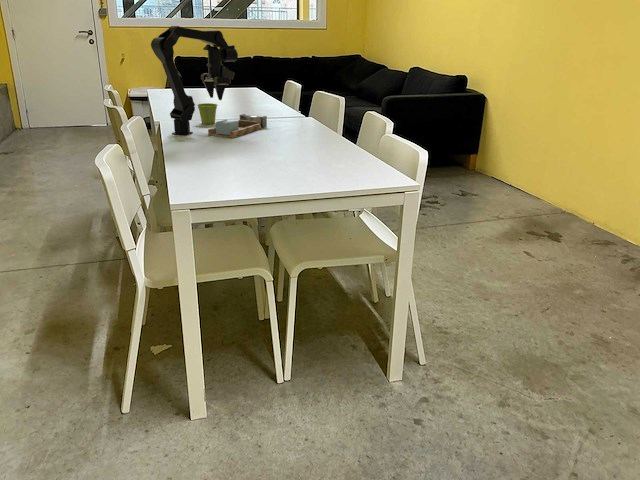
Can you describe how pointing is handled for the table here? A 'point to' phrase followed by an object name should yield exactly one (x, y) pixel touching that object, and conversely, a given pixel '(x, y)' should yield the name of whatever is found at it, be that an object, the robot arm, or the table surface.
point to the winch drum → (255, 119)
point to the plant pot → (207, 112)
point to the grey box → (226, 127)
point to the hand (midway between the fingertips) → (215, 99)
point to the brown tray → (243, 129)
